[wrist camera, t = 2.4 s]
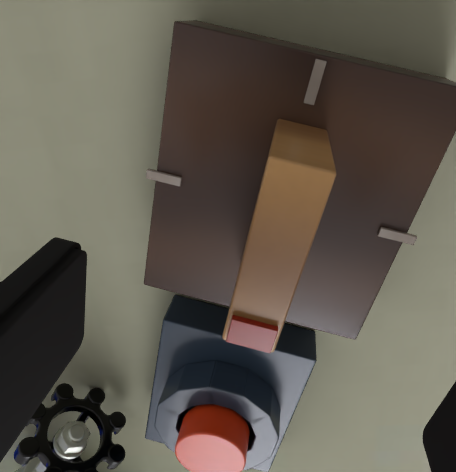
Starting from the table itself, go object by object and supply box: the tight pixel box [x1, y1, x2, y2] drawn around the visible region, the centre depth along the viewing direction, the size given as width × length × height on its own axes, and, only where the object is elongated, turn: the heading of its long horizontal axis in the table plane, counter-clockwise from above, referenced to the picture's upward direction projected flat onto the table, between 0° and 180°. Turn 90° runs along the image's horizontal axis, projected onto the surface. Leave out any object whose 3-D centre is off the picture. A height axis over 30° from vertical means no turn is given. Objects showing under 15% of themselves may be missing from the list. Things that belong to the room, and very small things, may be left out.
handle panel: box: [144, 20, 456, 339], centre depth 17 cm, size 11×11×3 cm
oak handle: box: [222, 119, 336, 353], centre depth 14 cm, size 6×2×5 cm, turn 169°
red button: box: [175, 404, 250, 472], centre depth 21 cm, size 4×4×2 cm
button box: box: [145, 295, 316, 472], centre depth 23 cm, size 10×8×4 cm
